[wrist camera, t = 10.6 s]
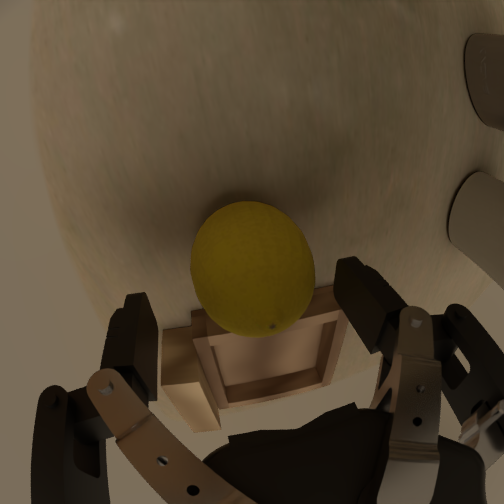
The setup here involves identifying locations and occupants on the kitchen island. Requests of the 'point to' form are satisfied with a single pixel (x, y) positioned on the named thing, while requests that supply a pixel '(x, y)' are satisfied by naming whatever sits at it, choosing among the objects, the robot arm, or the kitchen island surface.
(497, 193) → the travel mug
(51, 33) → the kitchen island surface
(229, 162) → the kitchen island surface
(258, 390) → the walnut tray
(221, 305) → the lemon
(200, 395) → the oak stop
